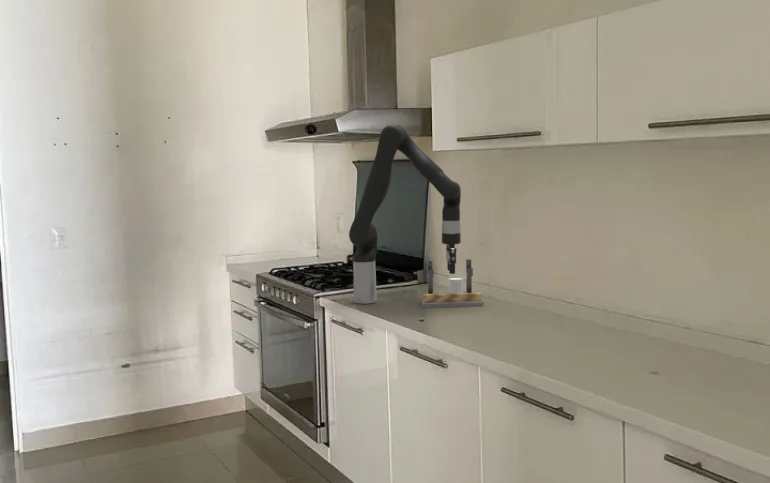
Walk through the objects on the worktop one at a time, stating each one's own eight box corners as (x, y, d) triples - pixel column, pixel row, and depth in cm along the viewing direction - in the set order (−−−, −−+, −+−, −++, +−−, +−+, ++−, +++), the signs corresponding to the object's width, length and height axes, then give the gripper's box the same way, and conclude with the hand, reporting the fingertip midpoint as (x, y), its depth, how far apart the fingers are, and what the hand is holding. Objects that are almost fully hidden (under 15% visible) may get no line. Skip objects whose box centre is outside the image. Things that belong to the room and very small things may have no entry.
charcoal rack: (427, 303, 309) (426, 262, 308) (426, 301, 315) (426, 260, 314) (474, 302, 309) (473, 261, 308) (472, 299, 316) (472, 259, 314)
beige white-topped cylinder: (466, 295, 327) (465, 279, 326) (450, 296, 325) (450, 280, 324) (460, 292, 333) (460, 277, 333) (446, 293, 332) (445, 277, 331)
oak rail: (423, 302, 304) (423, 295, 303) (423, 301, 307) (423, 294, 306) (481, 301, 304) (481, 293, 304) (480, 299, 307) (480, 292, 307)
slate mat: (422, 307, 301) (422, 304, 301) (421, 304, 309) (421, 300, 309) (483, 306, 301) (483, 302, 301) (480, 302, 309) (480, 298, 309)
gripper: (440, 230, 309) (440, 269, 311) (443, 233, 295) (443, 275, 297) (458, 229, 310) (458, 269, 311) (462, 233, 295) (462, 274, 297)
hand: (451, 272), depth 304 cm, fingers open, 8 cm apart
